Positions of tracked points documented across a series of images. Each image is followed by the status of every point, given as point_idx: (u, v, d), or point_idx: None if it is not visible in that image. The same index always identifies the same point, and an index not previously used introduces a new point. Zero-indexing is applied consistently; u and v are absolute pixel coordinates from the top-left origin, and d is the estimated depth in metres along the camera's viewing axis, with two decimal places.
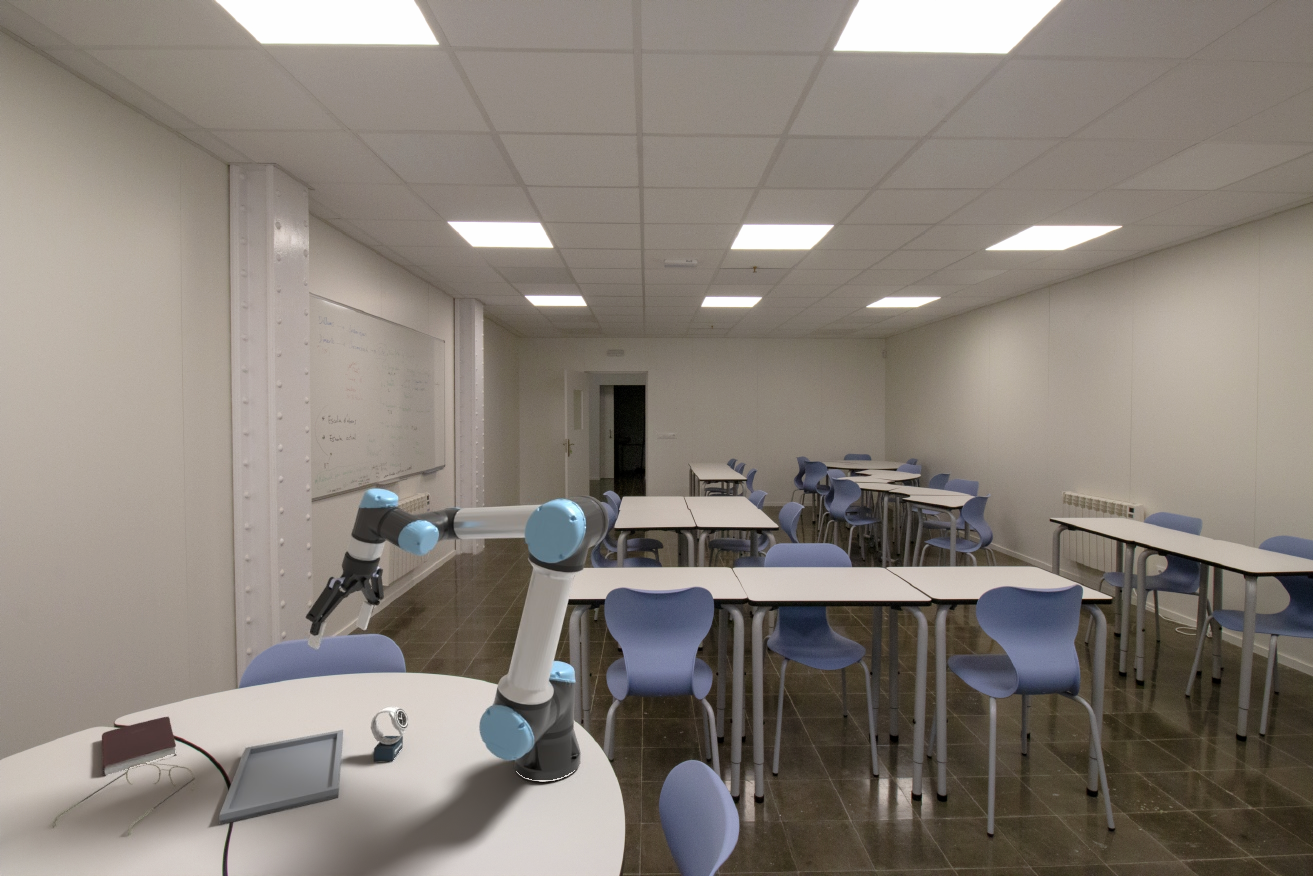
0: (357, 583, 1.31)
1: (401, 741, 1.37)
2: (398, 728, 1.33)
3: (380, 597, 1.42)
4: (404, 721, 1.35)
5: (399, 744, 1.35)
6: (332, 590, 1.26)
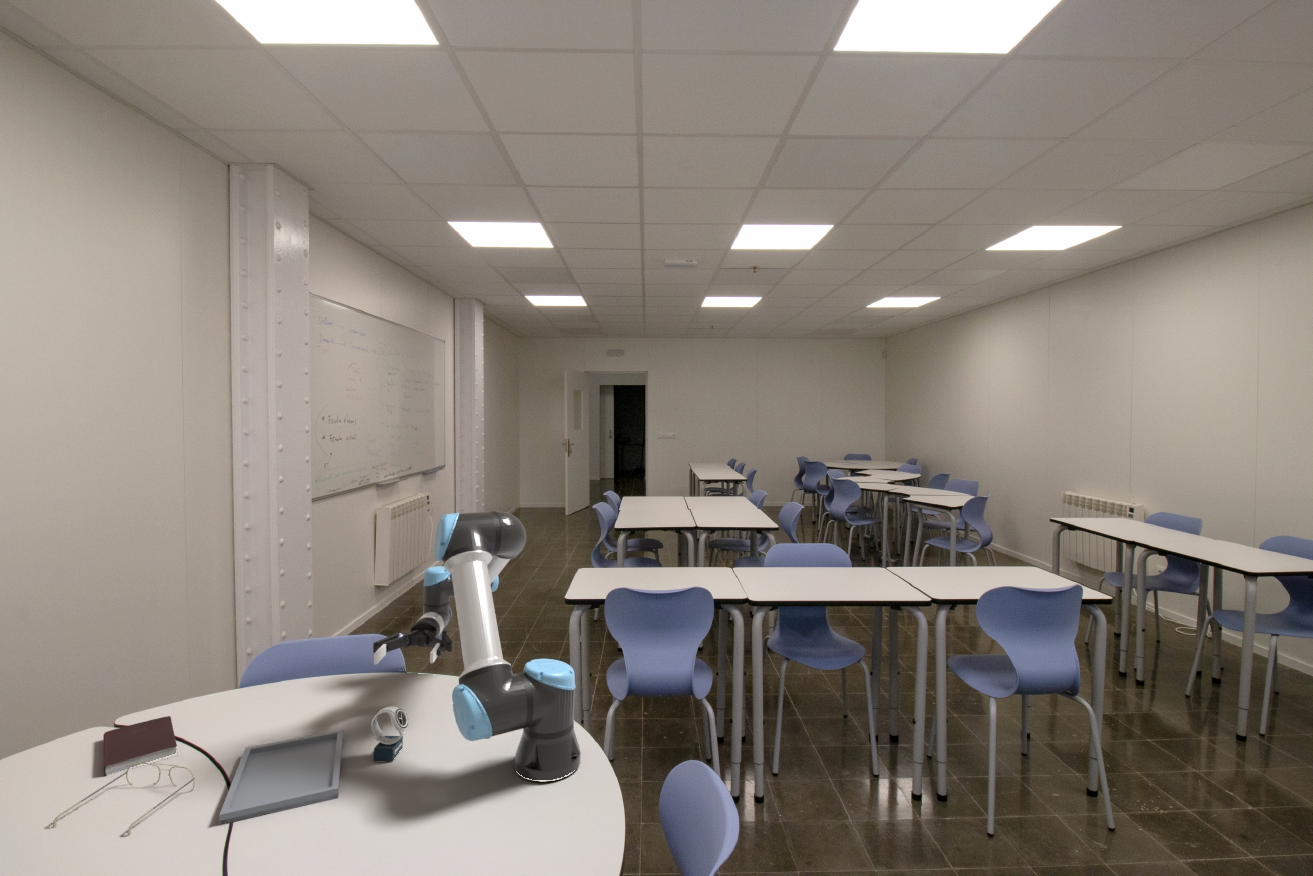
0: (415, 630, 1.59)
1: (401, 741, 1.37)
2: (398, 728, 1.33)
3: (448, 641, 1.53)
4: (404, 721, 1.35)
5: (399, 744, 1.35)
6: None
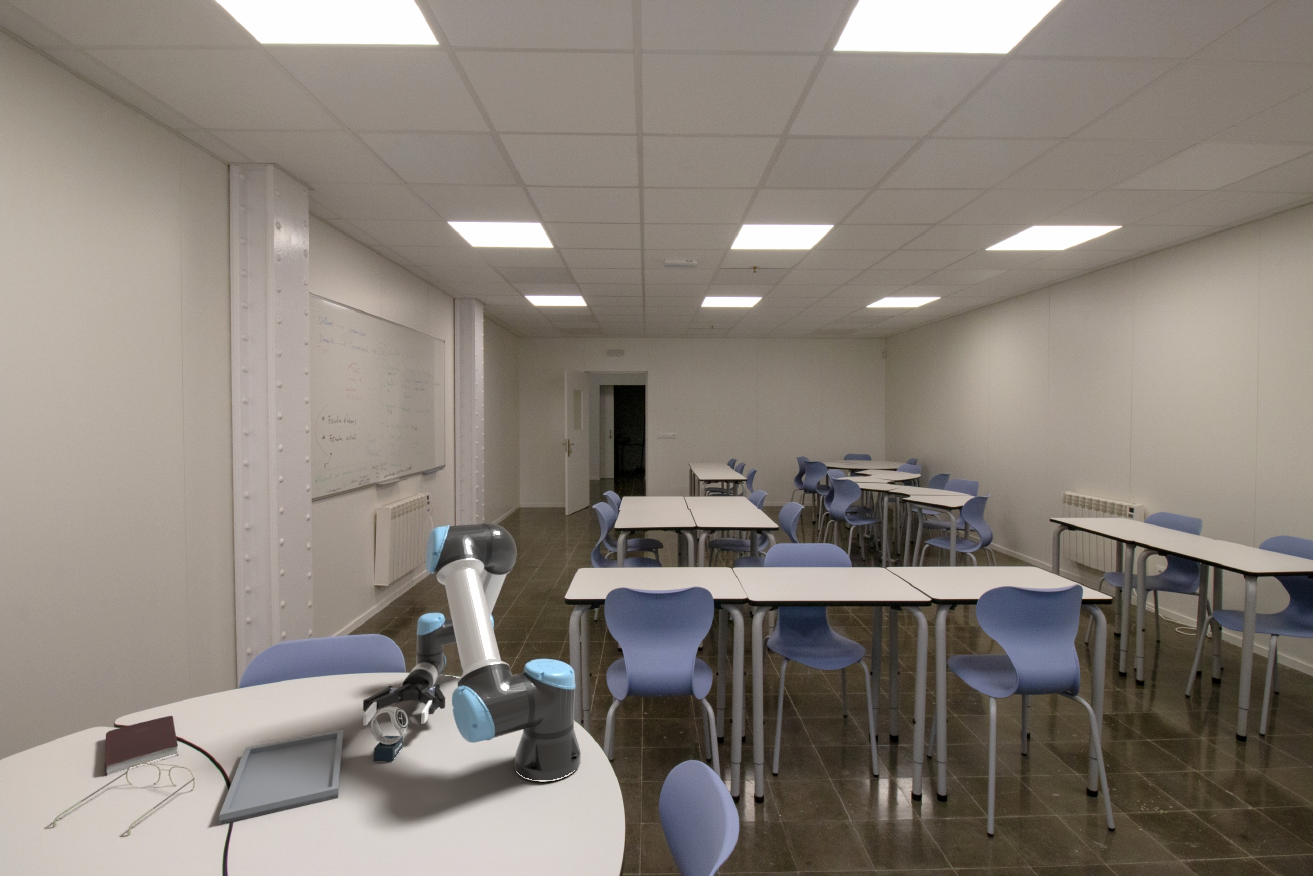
0: (407, 684, 1.54)
1: (401, 741, 1.37)
2: (398, 728, 1.33)
3: (440, 698, 1.48)
4: (404, 721, 1.35)
5: (399, 744, 1.35)
6: None
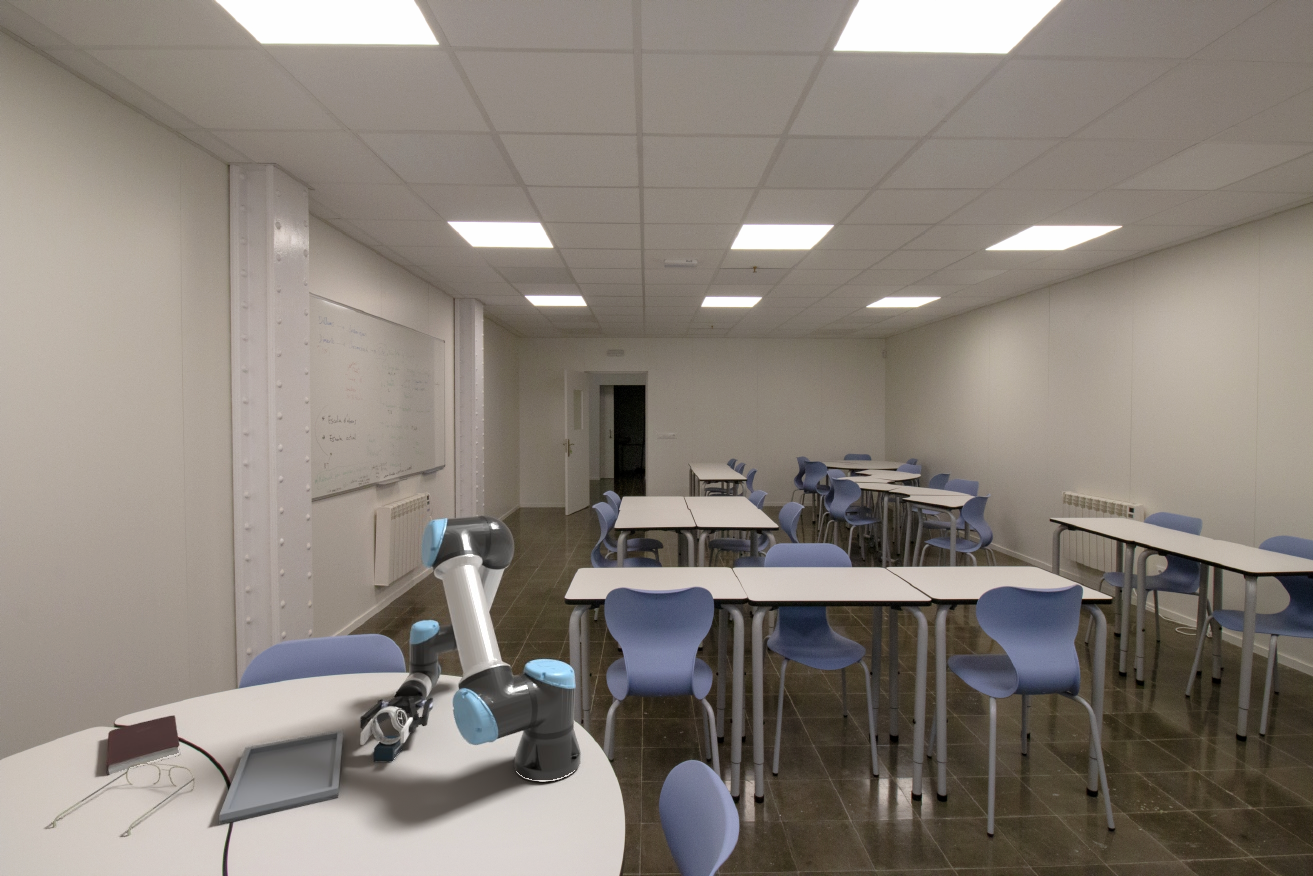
0: (399, 697, 1.46)
1: None
2: (398, 728, 1.33)
3: (423, 714, 1.39)
4: (404, 721, 1.35)
5: (399, 744, 1.35)
6: None
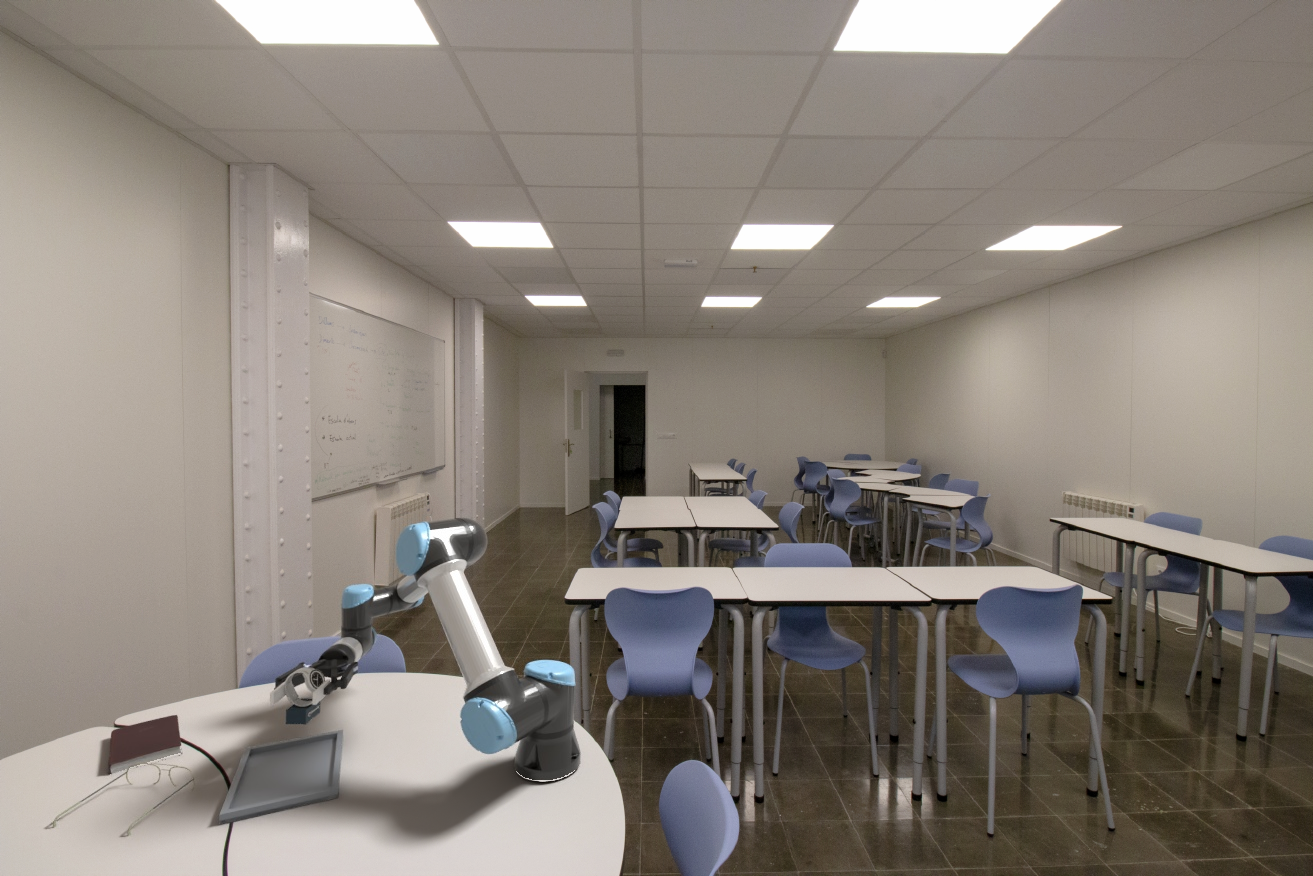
0: (322, 660, 1.39)
1: (318, 704, 1.30)
2: (312, 689, 1.26)
3: (342, 677, 1.32)
4: (320, 682, 1.28)
5: (315, 707, 1.28)
6: None
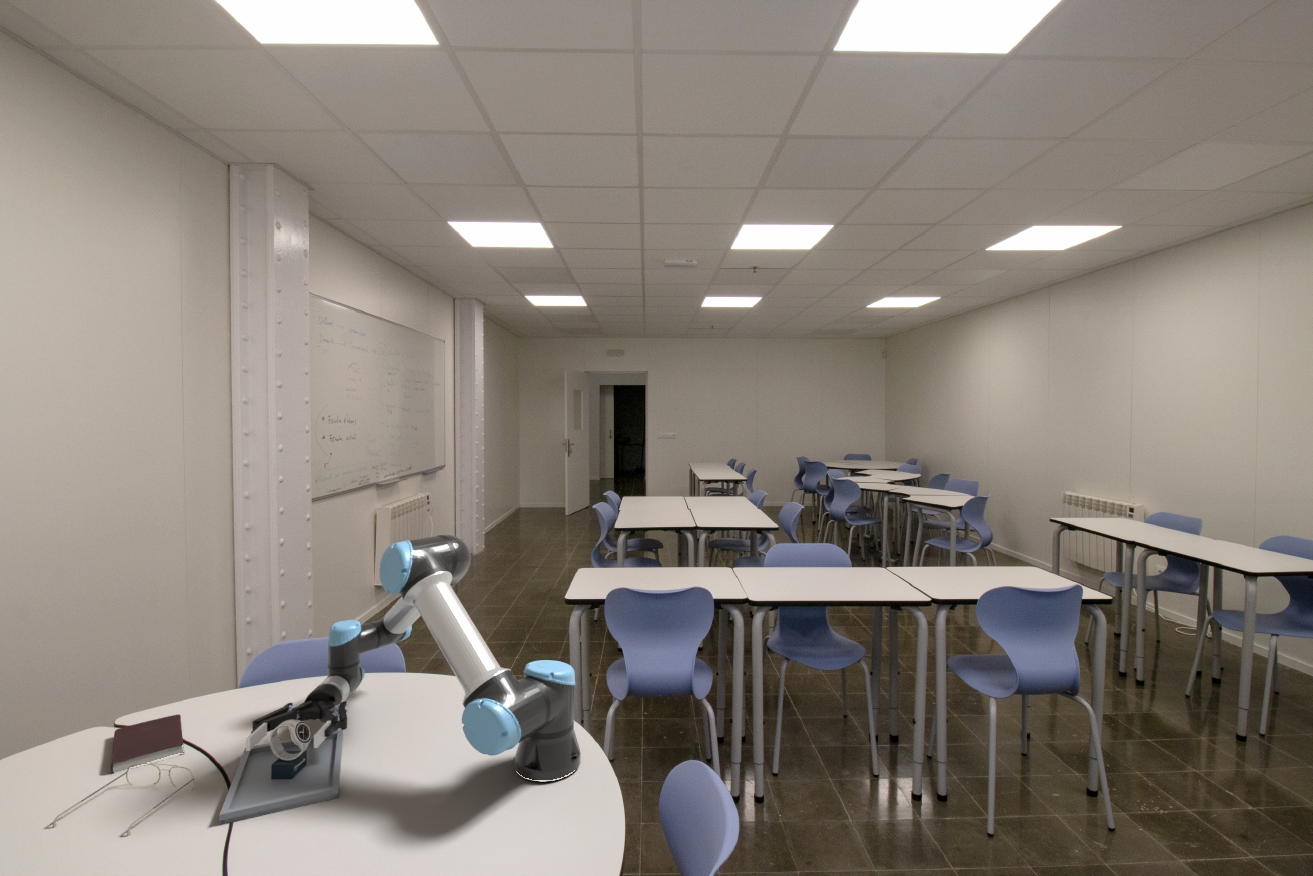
0: (309, 702, 1.37)
1: (304, 756, 1.28)
2: (298, 743, 1.24)
3: (342, 717, 1.31)
4: (306, 735, 1.26)
5: (301, 760, 1.27)
6: None
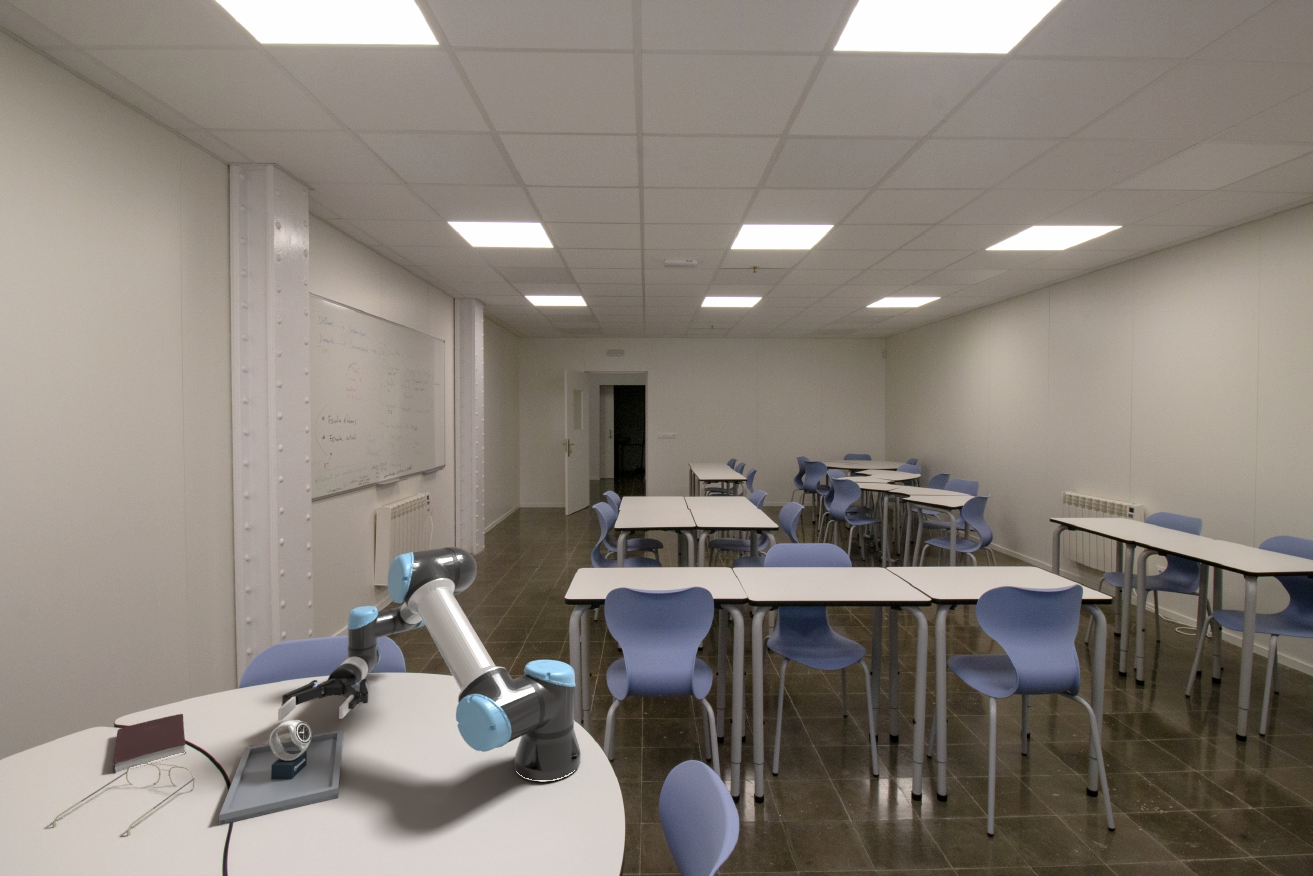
0: (332, 679, 1.50)
1: (304, 756, 1.28)
2: (298, 743, 1.24)
3: (363, 692, 1.44)
4: (306, 735, 1.26)
5: (301, 760, 1.27)
6: None
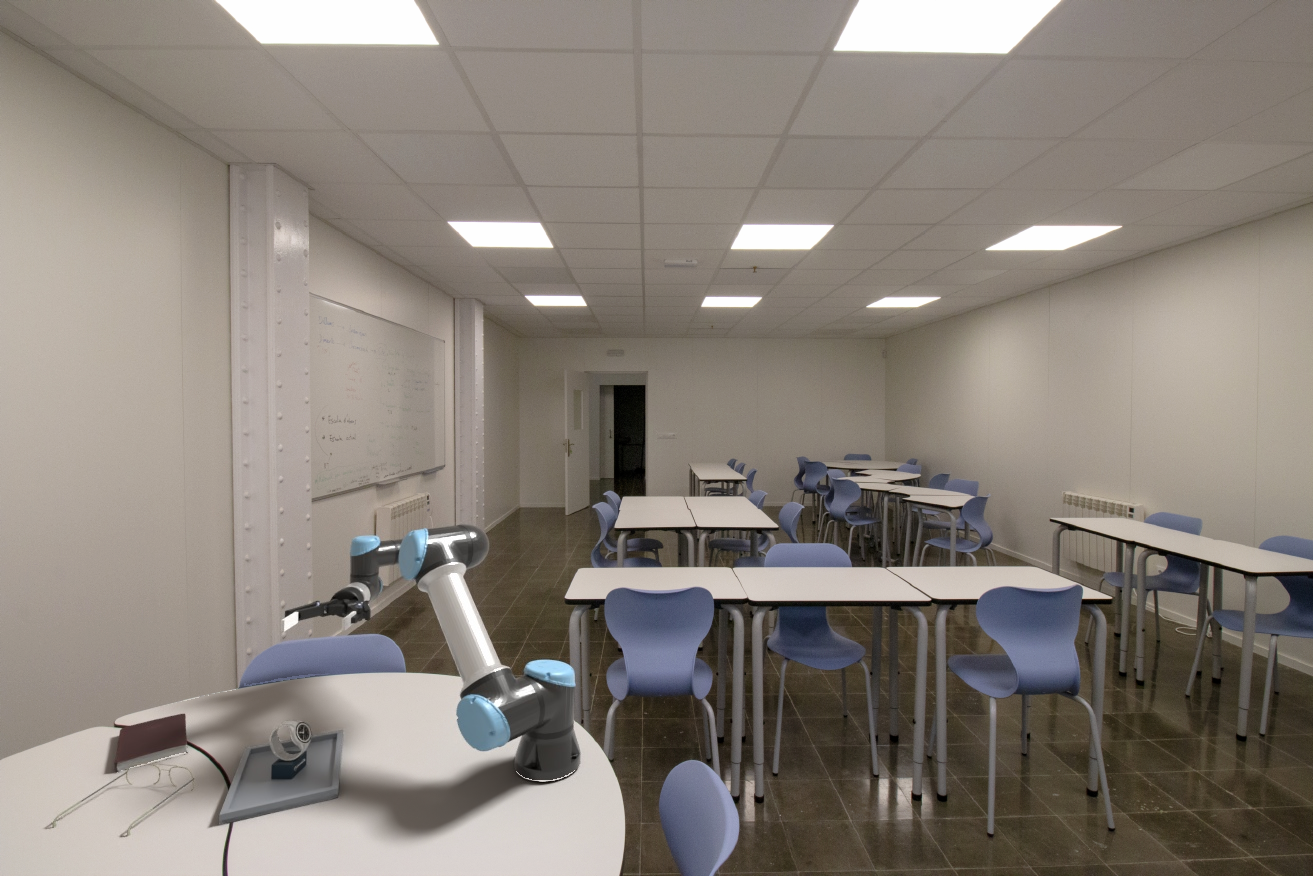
0: (335, 599, 1.50)
1: (304, 756, 1.28)
2: (298, 743, 1.24)
3: (366, 610, 1.44)
4: (306, 735, 1.26)
5: (301, 760, 1.27)
6: None
